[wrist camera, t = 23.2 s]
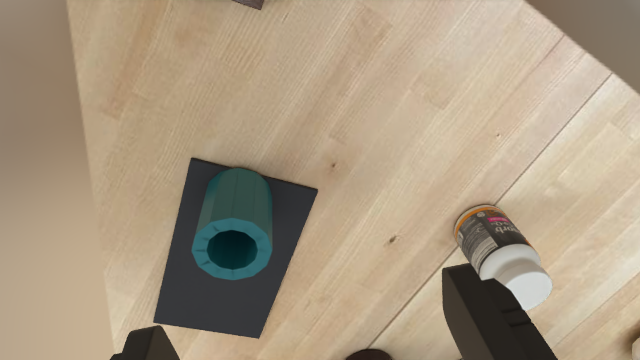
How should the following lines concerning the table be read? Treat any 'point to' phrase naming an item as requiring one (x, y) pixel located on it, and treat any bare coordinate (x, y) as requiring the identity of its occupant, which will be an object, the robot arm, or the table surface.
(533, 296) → the pill bottle
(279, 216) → the mat
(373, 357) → the wine bottle
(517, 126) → the table surface
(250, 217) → the teal hollow cylinder
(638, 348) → the decorative ball
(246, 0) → the ring toss
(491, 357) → the robot arm
